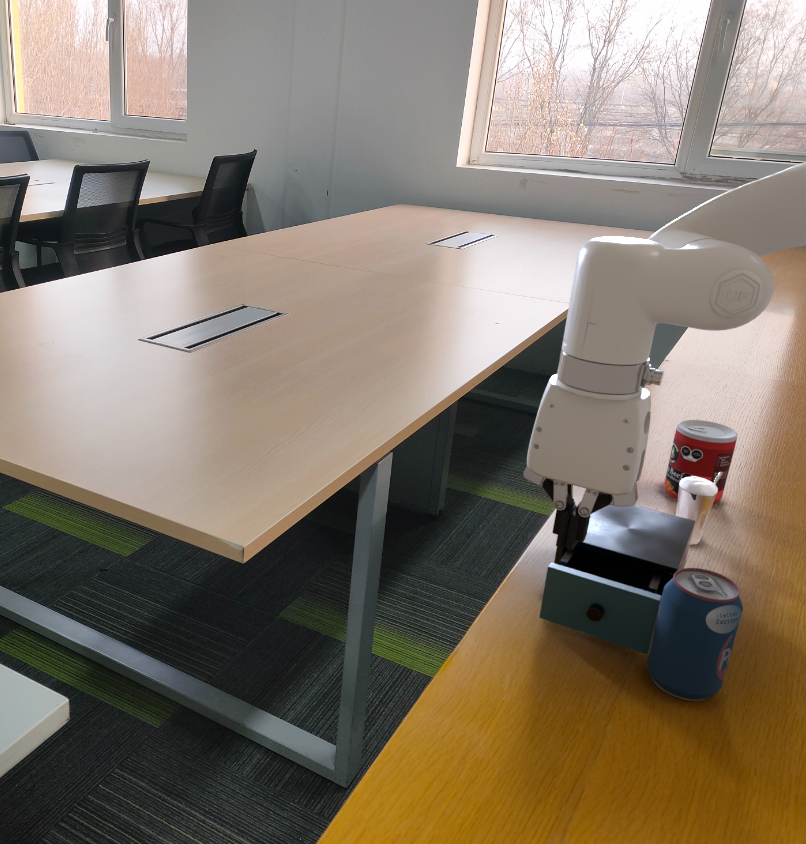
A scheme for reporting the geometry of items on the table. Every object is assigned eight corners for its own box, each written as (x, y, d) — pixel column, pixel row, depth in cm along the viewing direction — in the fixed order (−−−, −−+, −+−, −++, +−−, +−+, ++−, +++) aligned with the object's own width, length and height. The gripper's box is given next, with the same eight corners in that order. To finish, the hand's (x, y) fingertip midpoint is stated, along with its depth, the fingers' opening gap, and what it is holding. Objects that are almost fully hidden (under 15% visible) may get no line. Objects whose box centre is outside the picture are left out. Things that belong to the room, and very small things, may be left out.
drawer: (645, 660, 85) (657, 606, 82) (536, 623, 91) (544, 571, 88) (667, 600, 95) (679, 550, 93) (568, 570, 101) (576, 522, 99)
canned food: (657, 481, 127) (671, 417, 123) (711, 486, 126) (727, 421, 122) (670, 503, 120) (686, 436, 116) (728, 509, 119) (746, 440, 115)
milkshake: (717, 545, 109) (734, 479, 105) (681, 548, 108) (697, 481, 104) (694, 529, 113) (710, 465, 109) (660, 532, 112) (674, 467, 109)
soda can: (729, 710, 79) (759, 607, 74) (654, 700, 80) (678, 598, 76) (706, 665, 85) (732, 568, 81) (636, 657, 86) (658, 560, 82)
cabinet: (662, 634, 90) (677, 569, 87) (547, 597, 97) (558, 535, 94) (680, 581, 101) (695, 520, 97) (576, 550, 107) (587, 493, 104)
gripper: (694, 378, 74) (653, 551, 81) (532, 349, 82) (506, 509, 89) (682, 400, 68) (639, 583, 75) (508, 367, 76) (483, 535, 83)
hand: (567, 542), depth 82 cm, fingers closed
